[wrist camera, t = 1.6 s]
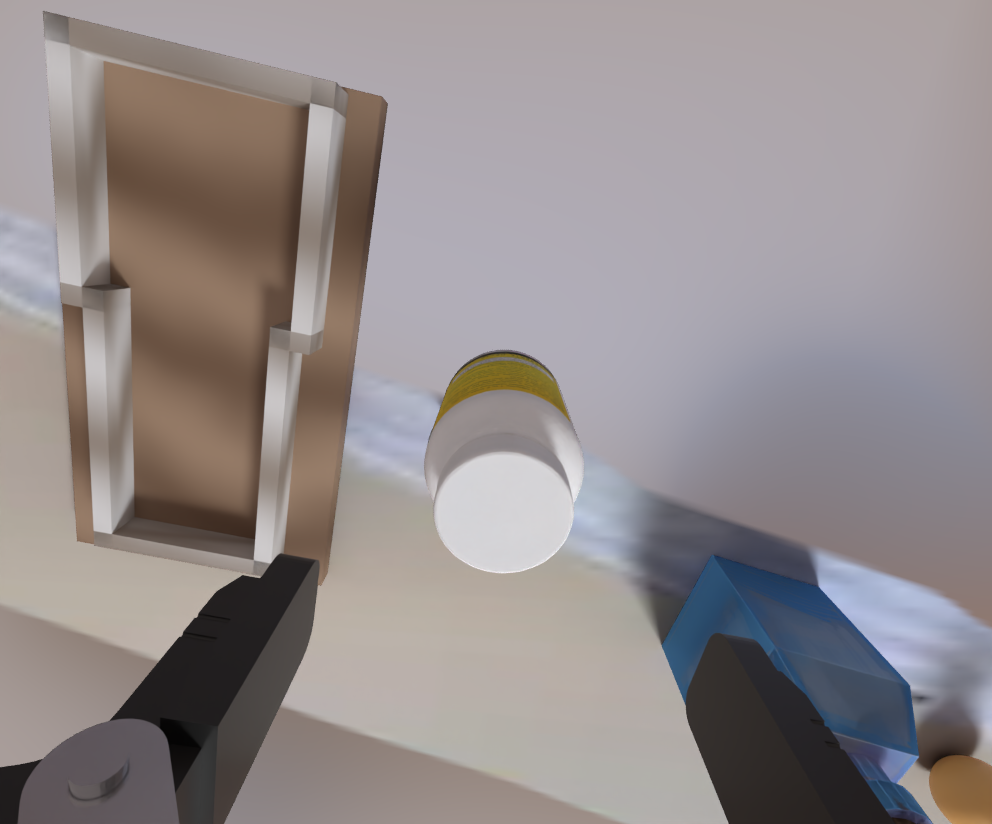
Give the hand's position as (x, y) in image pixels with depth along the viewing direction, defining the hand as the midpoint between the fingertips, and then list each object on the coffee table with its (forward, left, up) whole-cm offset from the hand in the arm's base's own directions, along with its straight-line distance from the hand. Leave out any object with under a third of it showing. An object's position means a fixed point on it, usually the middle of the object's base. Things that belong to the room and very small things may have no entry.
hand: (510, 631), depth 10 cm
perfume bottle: (+9, +15, -14) cm, 22 cm away
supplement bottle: (0, 0, -14) cm, 14 cm away
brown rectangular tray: (0, -13, -14) cm, 19 cm away
